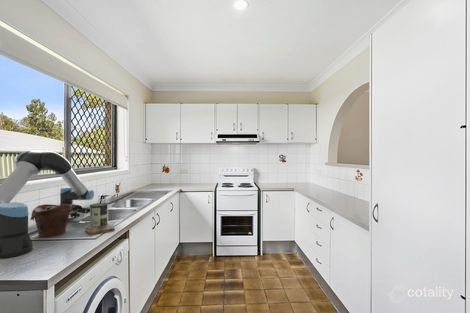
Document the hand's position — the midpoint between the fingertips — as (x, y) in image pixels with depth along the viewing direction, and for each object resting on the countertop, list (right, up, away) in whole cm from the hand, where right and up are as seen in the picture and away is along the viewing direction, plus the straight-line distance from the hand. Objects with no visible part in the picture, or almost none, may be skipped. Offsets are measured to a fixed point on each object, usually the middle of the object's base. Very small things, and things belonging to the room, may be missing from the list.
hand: (93, 213), depth 168 cm
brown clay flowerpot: (-14, -8, -19) cm, 25 cm away
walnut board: (+12, -8, -14) cm, 20 cm away
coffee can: (+5, -8, -3) cm, 10 cm away
